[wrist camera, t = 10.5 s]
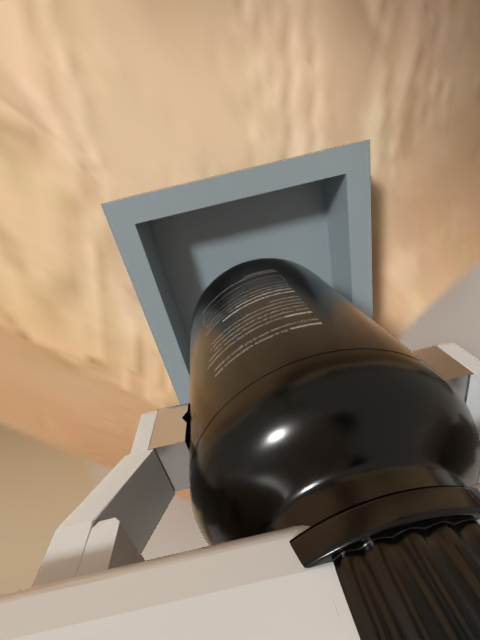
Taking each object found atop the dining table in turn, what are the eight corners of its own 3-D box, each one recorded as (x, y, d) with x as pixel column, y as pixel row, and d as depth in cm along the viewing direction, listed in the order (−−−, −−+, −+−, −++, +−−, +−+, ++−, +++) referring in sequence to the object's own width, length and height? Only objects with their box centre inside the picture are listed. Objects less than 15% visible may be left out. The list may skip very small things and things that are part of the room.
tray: (122, 198, 18) (100, 204, 14) (337, 146, 18) (369, 139, 14) (186, 373, 24) (182, 408, 20) (348, 334, 23) (373, 363, 20)
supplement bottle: (189, 383, 15) (173, 863, 5) (192, 249, 13) (170, 684, 2) (316, 382, 16) (544, 769, 6) (346, 259, 14) (912, 566, 3)
